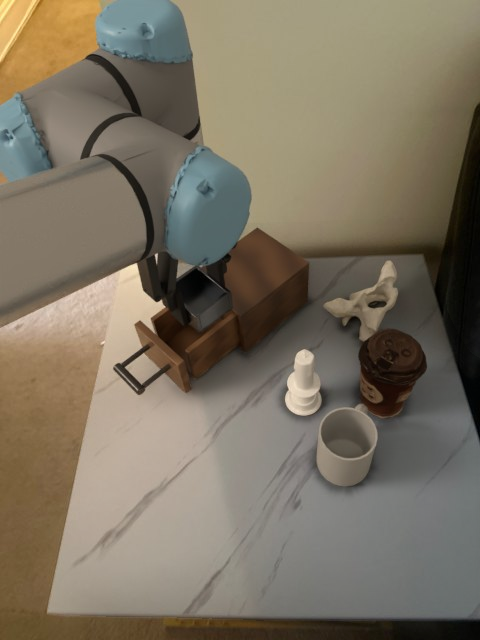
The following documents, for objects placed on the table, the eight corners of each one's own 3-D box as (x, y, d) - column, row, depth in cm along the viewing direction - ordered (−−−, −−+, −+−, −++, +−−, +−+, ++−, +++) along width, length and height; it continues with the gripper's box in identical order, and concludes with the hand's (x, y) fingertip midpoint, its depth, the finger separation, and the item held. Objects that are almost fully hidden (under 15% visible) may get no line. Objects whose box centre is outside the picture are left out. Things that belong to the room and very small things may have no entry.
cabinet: (245, 353, 89) (240, 316, 81) (197, 313, 95) (189, 275, 87) (308, 301, 94) (309, 262, 87) (259, 266, 100) (257, 227, 92)
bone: (326, 329, 92) (320, 296, 86) (370, 273, 98) (367, 239, 92) (375, 350, 87) (372, 317, 81) (418, 290, 93) (418, 255, 87)
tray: (199, 333, 74) (195, 317, 71) (166, 304, 77) (162, 288, 74) (233, 308, 76) (231, 291, 73) (200, 280, 79) (197, 263, 77)
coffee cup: (361, 431, 80) (372, 383, 69) (343, 382, 85) (350, 330, 74) (420, 417, 80) (439, 368, 70) (398, 369, 85) (413, 317, 75)
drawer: (153, 420, 82) (142, 393, 76) (112, 377, 87) (99, 349, 81) (251, 340, 89) (248, 310, 83) (208, 305, 94) (202, 274, 88)
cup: (307, 473, 76) (309, 444, 69) (336, 414, 81) (340, 382, 74) (357, 497, 74) (364, 470, 67) (384, 434, 79) (393, 403, 72)
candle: (284, 384, 85) (284, 338, 76) (320, 384, 85) (324, 337, 75) (285, 416, 82) (284, 372, 72) (322, 416, 81) (326, 371, 72)
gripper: (115, 228, 53) (161, 363, 71) (262, 137, 60) (269, 281, 78) (73, 193, 56) (126, 329, 75) (215, 110, 63) (233, 254, 82)
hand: (199, 304), depth 76 cm, fingers closed on tray, 6 cm apart
